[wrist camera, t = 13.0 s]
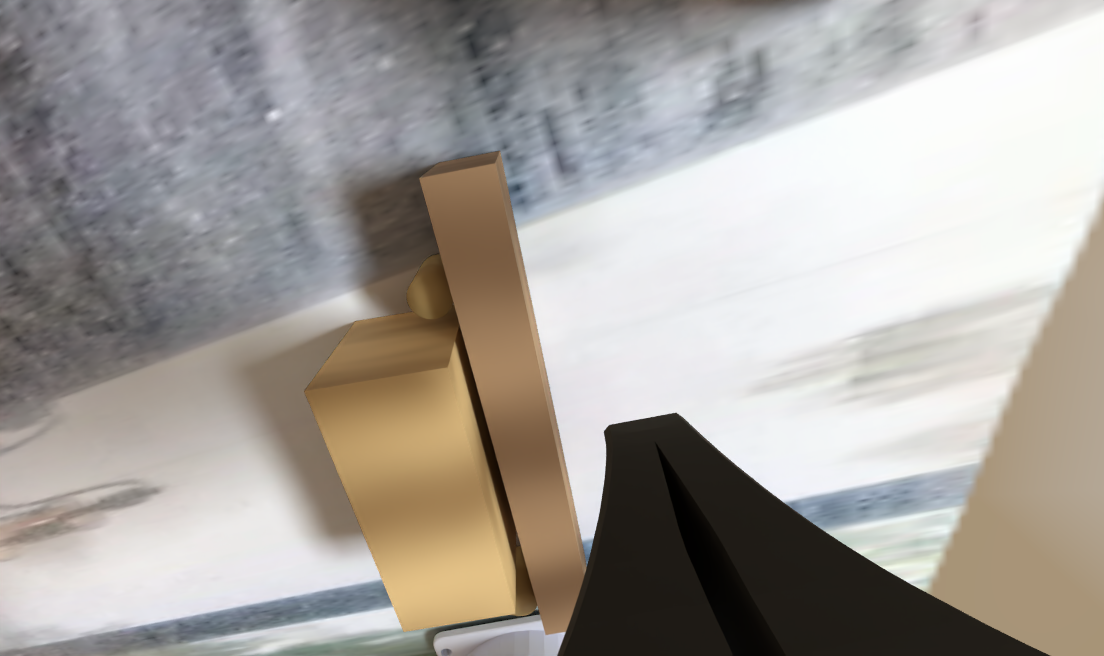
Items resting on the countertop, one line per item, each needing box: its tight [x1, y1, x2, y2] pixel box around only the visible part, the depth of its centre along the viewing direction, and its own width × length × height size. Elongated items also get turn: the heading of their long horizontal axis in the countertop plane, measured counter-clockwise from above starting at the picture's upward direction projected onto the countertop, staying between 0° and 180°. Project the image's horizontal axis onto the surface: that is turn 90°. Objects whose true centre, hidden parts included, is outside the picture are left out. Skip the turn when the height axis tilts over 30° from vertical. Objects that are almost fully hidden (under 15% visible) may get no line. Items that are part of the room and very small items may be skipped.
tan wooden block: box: [304, 305, 516, 632], centre depth 18 cm, size 10×4×5 cm, turn 9°
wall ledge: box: [406, 151, 587, 635], centre depth 19 cm, size 18×4×4 cm, turn 10°
